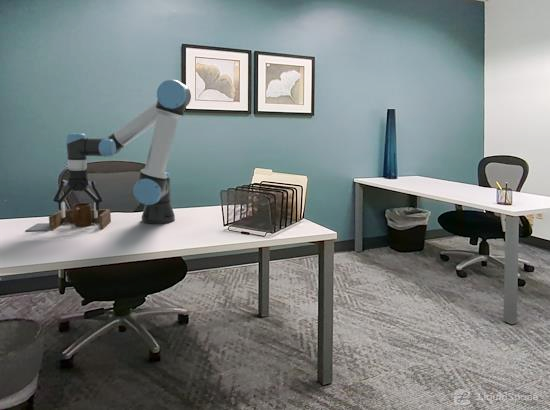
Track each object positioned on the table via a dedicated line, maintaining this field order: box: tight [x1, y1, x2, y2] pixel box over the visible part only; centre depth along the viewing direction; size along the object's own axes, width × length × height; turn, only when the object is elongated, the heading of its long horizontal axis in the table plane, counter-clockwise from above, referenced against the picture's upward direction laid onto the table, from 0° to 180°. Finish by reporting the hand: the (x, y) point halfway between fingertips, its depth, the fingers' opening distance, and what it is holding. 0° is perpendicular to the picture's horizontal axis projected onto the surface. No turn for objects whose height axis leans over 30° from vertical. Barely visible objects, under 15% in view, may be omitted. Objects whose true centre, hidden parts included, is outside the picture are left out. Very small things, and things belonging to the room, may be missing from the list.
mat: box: [25, 222, 51, 233], centre depth 188 cm, size 9×13×1 cm, turn 8°
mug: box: [72, 202, 93, 228], centre depth 191 cm, size 12×8×9 cm, turn 4°
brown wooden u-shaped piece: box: [48, 208, 112, 231], centre depth 192 cm, size 21×15×6 cm
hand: (79, 217), depth 191 cm, fingers open, 13 cm apart
